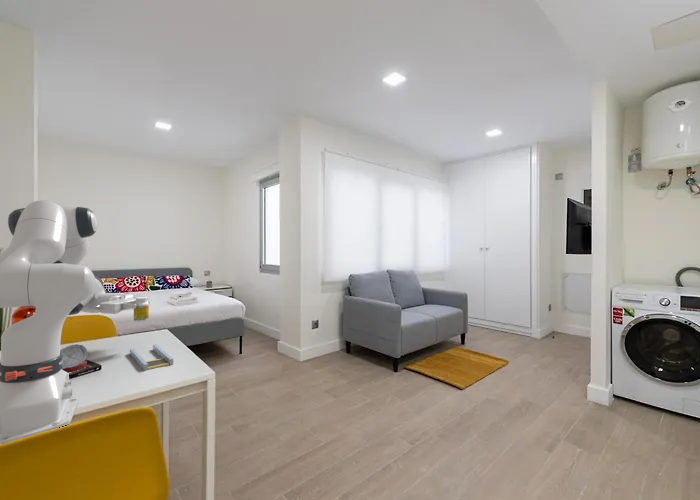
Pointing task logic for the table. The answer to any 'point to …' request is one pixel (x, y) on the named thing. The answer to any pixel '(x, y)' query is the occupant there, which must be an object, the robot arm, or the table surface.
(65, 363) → the canned food
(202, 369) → the table surface
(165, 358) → the channel
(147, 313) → the supplement bottle
